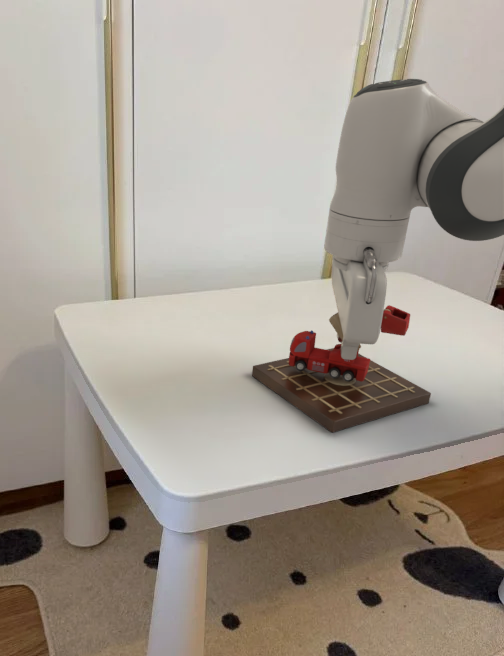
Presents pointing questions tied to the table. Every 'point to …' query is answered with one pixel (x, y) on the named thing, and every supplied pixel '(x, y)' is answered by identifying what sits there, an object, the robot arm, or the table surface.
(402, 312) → the toy fire truck
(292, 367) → the board
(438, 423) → the table surface
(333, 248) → the robot arm
